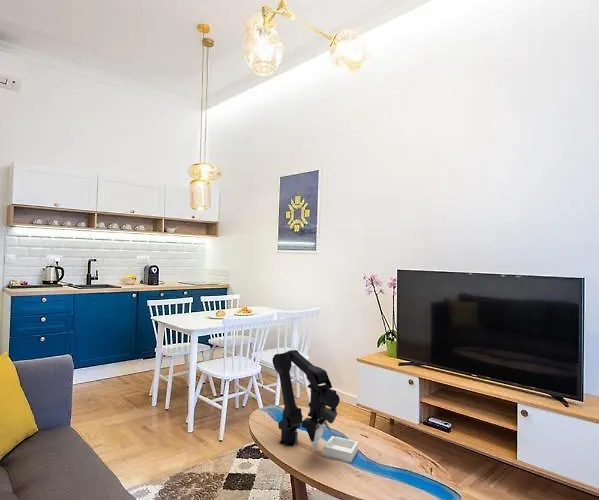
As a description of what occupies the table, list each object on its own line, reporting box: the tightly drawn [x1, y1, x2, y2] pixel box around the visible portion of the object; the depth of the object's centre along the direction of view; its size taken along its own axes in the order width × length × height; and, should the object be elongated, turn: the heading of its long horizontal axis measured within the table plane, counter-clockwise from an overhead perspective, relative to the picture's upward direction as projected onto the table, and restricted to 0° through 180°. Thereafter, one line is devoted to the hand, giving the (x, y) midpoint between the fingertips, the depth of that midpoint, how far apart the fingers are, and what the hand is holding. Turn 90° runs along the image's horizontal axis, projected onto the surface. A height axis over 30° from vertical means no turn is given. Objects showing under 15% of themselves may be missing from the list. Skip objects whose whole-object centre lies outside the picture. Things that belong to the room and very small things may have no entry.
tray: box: [322, 435, 359, 464], centre depth 178 cm, size 12×12×4 cm
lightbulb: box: [310, 423, 324, 451], centre depth 173 cm, size 6×6×11 cm
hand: (315, 438), depth 173 cm, fingers closed on lightbulb, 6 cm apart
